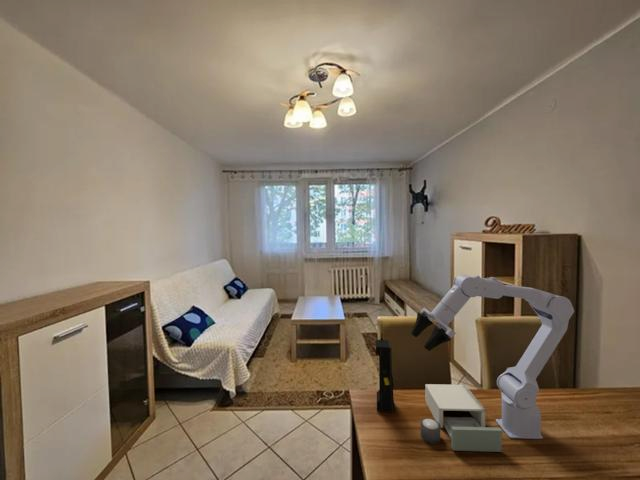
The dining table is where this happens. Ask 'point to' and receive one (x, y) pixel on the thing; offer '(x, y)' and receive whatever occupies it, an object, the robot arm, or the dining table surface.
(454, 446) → the grey green drawer
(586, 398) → the dining table surface
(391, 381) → the portable radio
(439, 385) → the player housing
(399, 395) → the dining table surface
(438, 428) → the grey cylinder white face
